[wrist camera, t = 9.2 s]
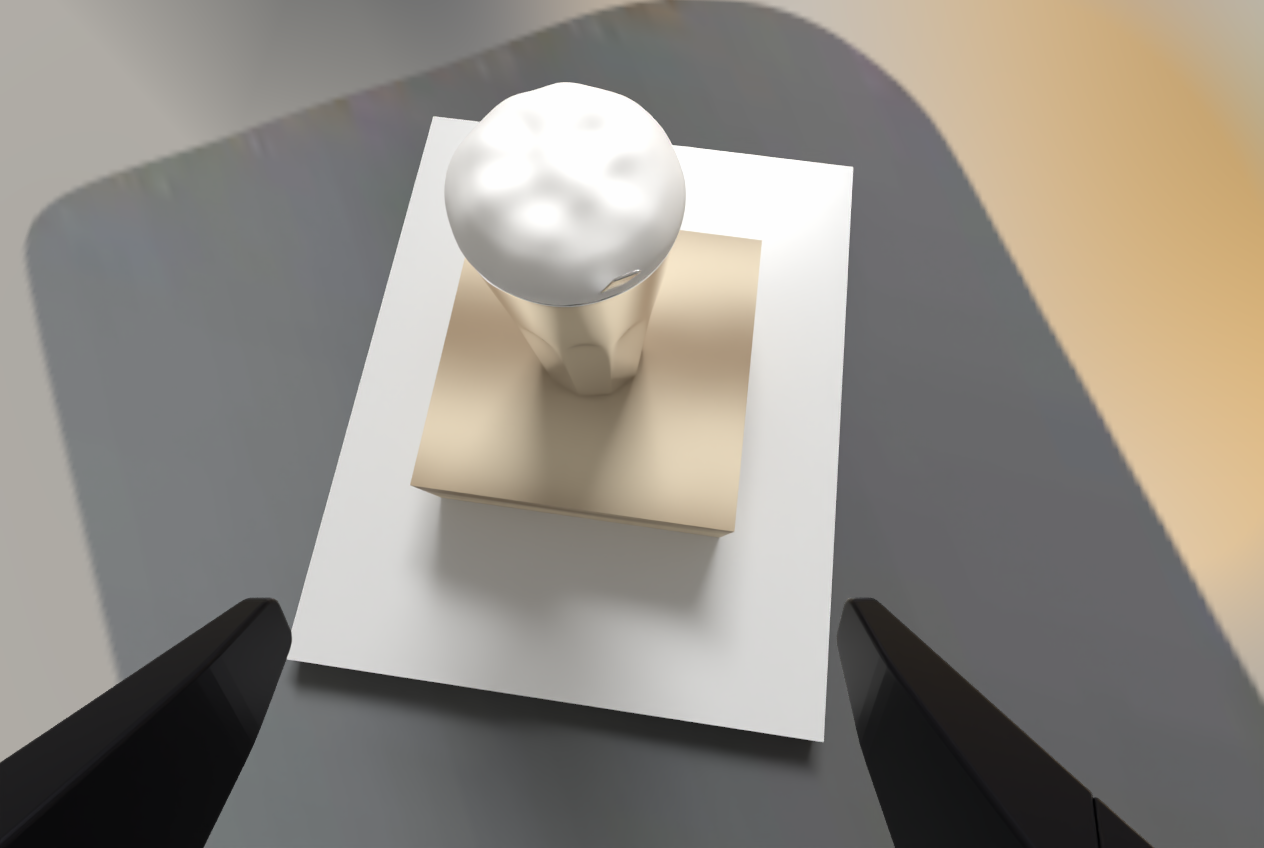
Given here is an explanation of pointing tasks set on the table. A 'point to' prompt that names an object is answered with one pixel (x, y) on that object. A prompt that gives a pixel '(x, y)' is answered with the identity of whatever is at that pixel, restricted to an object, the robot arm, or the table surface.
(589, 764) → the table surface
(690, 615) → the baseplate
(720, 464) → the plinth
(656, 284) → the milkshake
